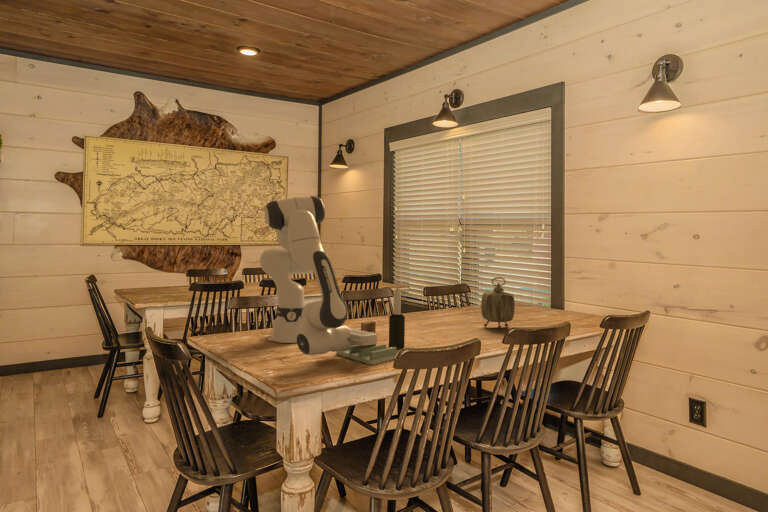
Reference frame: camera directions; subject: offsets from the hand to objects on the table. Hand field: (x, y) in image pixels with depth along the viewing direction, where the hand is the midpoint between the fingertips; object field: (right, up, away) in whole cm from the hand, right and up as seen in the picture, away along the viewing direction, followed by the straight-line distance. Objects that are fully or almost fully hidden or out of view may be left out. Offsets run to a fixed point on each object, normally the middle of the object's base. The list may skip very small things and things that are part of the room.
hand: (369, 332), depth 180 cm
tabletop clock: (+61, -7, +58) cm, 84 cm away
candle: (+10, -8, +15) cm, 20 cm away
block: (-1, -6, 0) cm, 6 cm away
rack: (-1, -9, 0) cm, 9 cm away
